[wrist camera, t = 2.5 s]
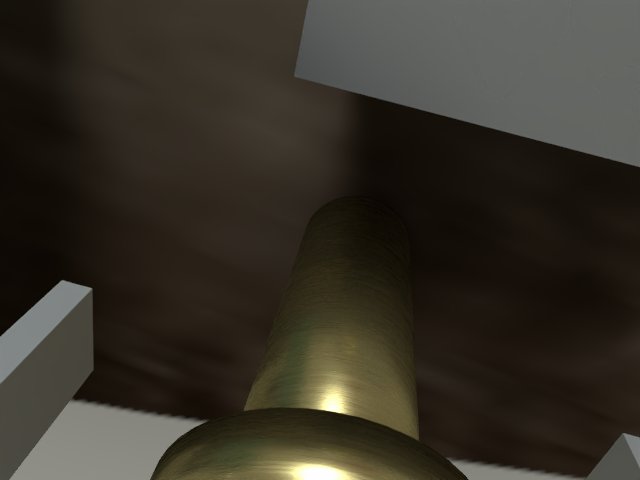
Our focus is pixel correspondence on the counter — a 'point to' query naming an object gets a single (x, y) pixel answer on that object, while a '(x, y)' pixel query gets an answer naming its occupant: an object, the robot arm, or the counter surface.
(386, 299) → the brass pin
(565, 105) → the block
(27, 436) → the robot arm
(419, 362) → the counter surface
